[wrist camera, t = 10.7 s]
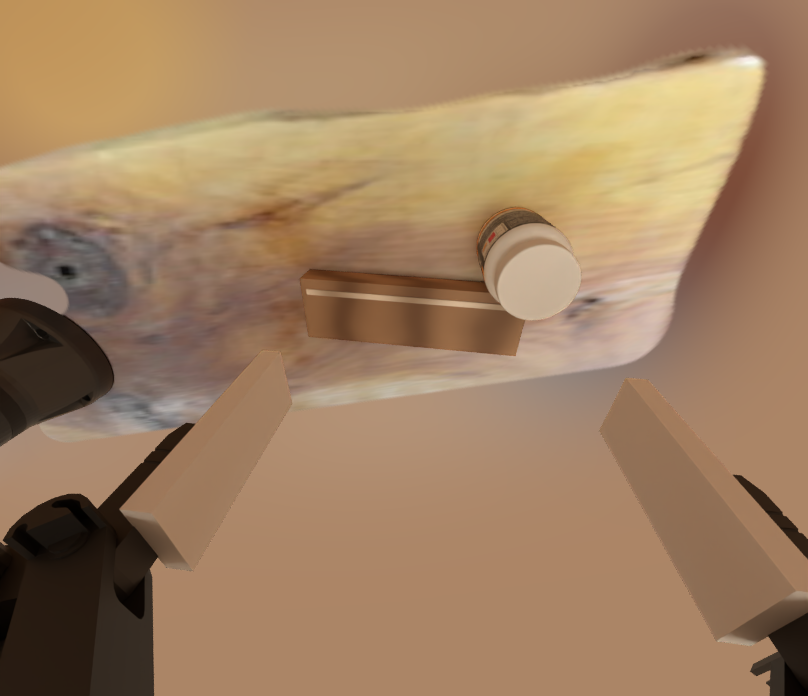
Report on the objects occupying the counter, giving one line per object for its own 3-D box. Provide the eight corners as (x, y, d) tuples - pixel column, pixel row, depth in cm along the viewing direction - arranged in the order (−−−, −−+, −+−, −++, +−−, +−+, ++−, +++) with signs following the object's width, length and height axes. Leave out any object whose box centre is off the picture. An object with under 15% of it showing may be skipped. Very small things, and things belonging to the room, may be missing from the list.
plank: (317, 324, 33) (308, 337, 31) (310, 269, 30) (299, 278, 28) (511, 342, 32) (515, 356, 29) (525, 285, 28) (531, 296, 26)
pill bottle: (463, 256, 28) (468, 303, 19) (502, 191, 25) (527, 214, 16) (518, 286, 28) (545, 343, 20) (562, 227, 25) (615, 265, 17)
